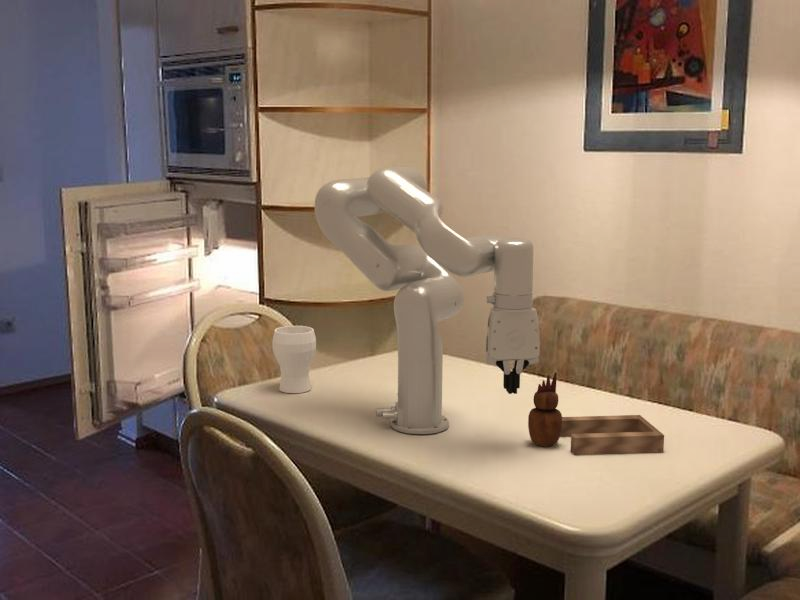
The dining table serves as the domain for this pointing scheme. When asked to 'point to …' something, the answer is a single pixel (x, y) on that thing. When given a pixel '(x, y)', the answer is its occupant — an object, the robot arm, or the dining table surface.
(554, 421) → the wooden figurine
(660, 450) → the u rest
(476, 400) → the dining table surface
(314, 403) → the dining table surface
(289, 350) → the cup
